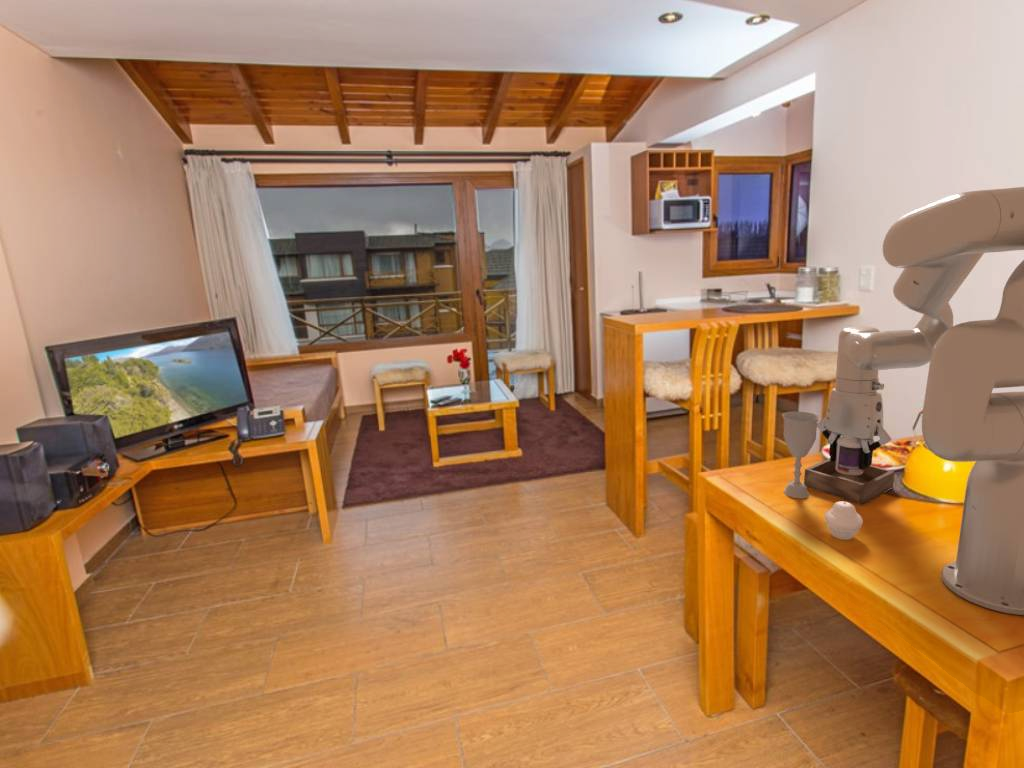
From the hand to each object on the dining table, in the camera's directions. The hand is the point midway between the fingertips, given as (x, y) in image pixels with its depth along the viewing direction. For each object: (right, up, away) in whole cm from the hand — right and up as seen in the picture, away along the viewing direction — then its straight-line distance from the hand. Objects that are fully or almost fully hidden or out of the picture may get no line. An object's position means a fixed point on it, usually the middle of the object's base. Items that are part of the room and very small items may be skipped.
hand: (849, 463), depth 118 cm
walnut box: (0, -6, +1) cm, 6 cm away
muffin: (-13, -11, -18) cm, 24 cm away
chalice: (-12, -7, 0) cm, 14 cm away
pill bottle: (0, -2, +1) cm, 2 cm away
